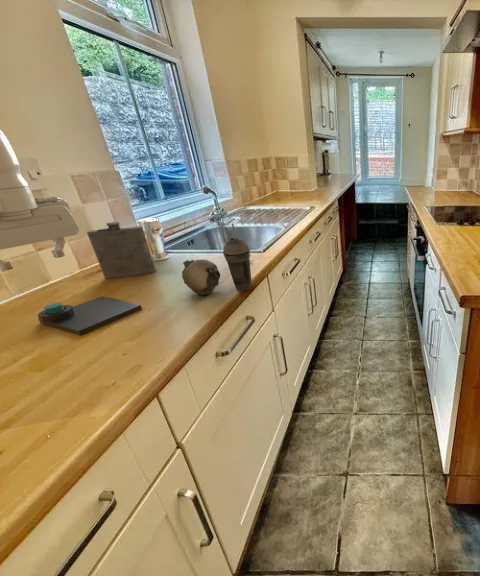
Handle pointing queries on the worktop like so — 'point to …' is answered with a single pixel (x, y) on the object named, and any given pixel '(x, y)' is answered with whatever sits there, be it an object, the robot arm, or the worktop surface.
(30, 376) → the worktop surface
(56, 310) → the tare button
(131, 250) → the flask
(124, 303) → the scale
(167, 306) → the worktop surface
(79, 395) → the worktop surface
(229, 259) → the beverage cup
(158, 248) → the chrome pepper mill
